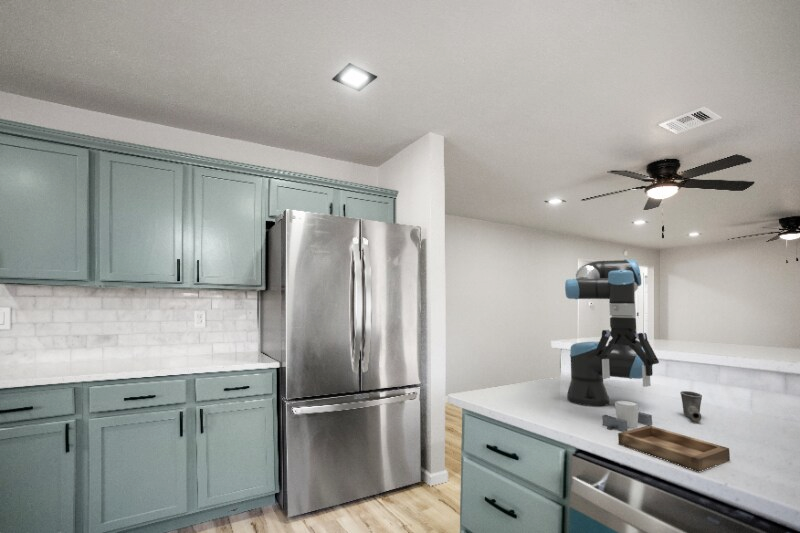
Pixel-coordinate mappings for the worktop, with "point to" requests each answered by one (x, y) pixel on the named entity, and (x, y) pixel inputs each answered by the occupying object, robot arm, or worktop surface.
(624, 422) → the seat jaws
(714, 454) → the tray
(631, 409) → the light grey cup
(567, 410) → the worktop surface
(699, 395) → the pipe
